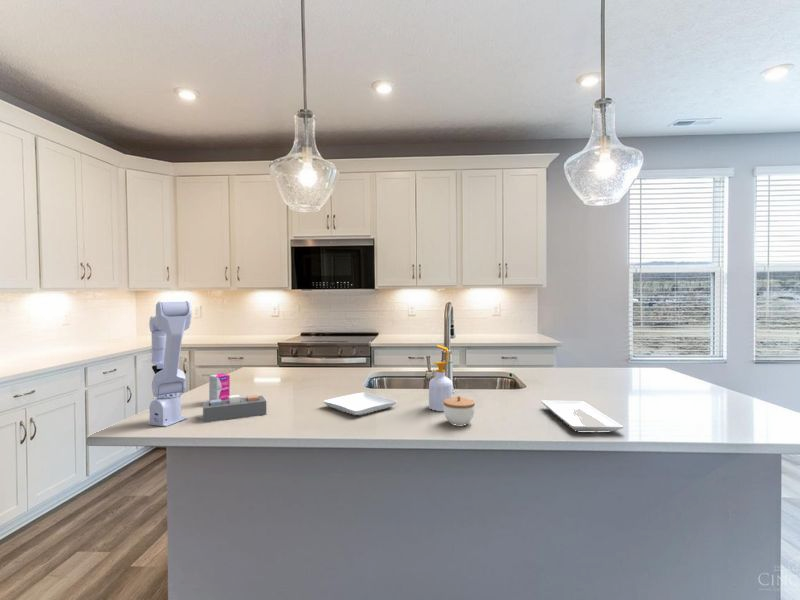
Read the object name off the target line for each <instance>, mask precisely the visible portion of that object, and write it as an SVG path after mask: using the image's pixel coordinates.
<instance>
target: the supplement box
mask: <svg viewBox="0 0 800 600" xmlns="http://www.w3.org/2000/svg"><path fill="white" fill-rule="evenodd" d="M230 377H231V376H230V375H229V374H227V373H216V374H210V375H209V380H208V381H209V391H208V392H209V393H208V394H209V396H208V398H209V401H210V400H217V399H221V400H227V399H229V396H231V395H230V393H231V392H230V388H231V387H230V386H231V384H230V382H231V380H230ZM209 401H208V402H209Z"/></svg>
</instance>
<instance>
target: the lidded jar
mask: <svg viewBox="0 0 800 600" xmlns="http://www.w3.org/2000/svg"><path fill="white" fill-rule="evenodd" d="M443 404H444V411H443V413H444V416H445V418H446V420H447V421H448V423H449V424H450V423H452V424H456V425H464V424H467V423H468V424H469V423H470V422H471V421H472V419H473V417H474V413H475V404H476V402H475V401H474V400H473V399H472V398H468V397H461V396H460V395H458V396H455V397H454V396H452V398H447V399H445V400H444V401H443ZM468 424H467V425H468Z"/></svg>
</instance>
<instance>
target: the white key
mask: <svg viewBox="0 0 800 600" xmlns="http://www.w3.org/2000/svg"><path fill="white" fill-rule="evenodd" d="M240 398H241V395H240V394H233V395H230V396H229V404H232V403H240Z"/></svg>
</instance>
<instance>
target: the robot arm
mask: <svg viewBox="0 0 800 600" xmlns="http://www.w3.org/2000/svg"><path fill="white" fill-rule="evenodd" d="M191 321H192V305H191V302H189V301H188V300H186V301H162V302H161V301H158V302H157V303H156V304H155V316H150V318H149V324H148V325H149V331H150V333H151V361H150V363H151V364H153V365H152V366H151V369H152V371H153V372H154V376H153V380H152V381H151V389H152V390H151V391H152V395H153V397H155V398H156V399H154V400H152V401H151V403H149V422H148V423H147V425H151V426H157V427H168V426H170V425H174V424H176V423H178V422H181V421H184V420H186V419H188V417H187V416H182V402H181V400H182V398H181V397H182V396H183V394H184V393H185V391H186V388H187V383H186V382H187V381H186V379H187V378H186V374H185V372H184V371H183V370H182V369H179V366H180V365H179V364H180V357H181V351H182V350H181V349H182V343H183V341H182V340H183V337H184V334H185V331H187V330H188V329H189V328H190V326H191V323H192V322H191Z"/></svg>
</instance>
